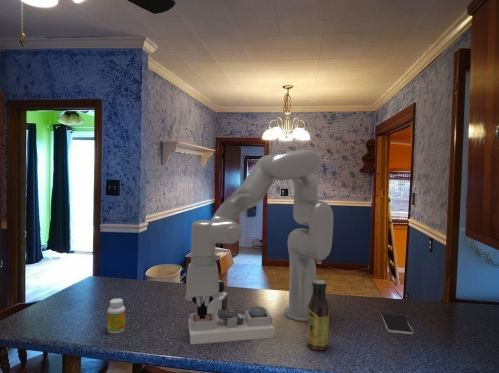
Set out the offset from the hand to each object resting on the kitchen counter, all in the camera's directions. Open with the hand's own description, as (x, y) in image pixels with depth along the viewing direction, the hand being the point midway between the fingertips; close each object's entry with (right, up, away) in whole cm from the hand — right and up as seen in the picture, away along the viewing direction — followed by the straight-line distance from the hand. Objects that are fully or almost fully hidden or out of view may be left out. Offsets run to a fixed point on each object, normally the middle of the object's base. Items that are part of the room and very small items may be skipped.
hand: (202, 317), depth 113 cm
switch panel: (+9, -6, +2) cm, 11 cm away
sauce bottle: (+35, -7, -6) cm, 36 cm away
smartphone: (+66, -7, +11) cm, 67 cm away
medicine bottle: (+2, -5, +17) cm, 18 cm away
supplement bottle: (-28, -5, +2) cm, 29 cm away
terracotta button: (0, -3, 0) cm, 3 cm away
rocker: (+9, -1, +2) cm, 9 cm away
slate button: (+18, -1, +4) cm, 18 cm away
